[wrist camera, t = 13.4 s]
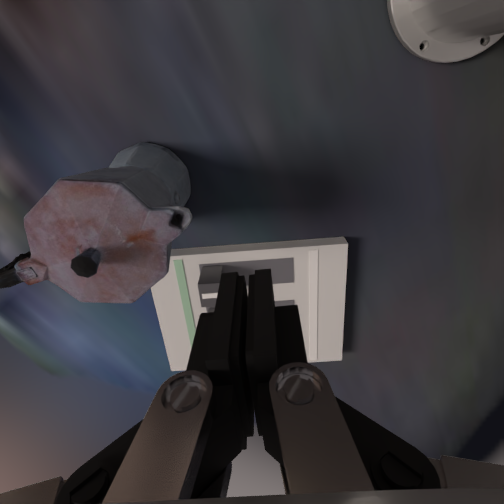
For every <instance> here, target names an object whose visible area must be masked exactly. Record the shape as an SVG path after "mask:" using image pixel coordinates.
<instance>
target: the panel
mask: <svg viewBox="0 0 504 504" xmlns="http://www.w3.org/2000/svg"><path fill="white" fill-rule="evenodd" d="M347 255H348V243H347V241H346V239H345V238H344V237H332V238H318V239H305V240H291V241H277V242H264V243H250V244H236V245H223V246H209V247H195V248H182V249H171V254H170V264H169V272H168V273H167V274H166V276H165V277H164V278H162V279H161V280H160V281H158V282H157V283H156V284H155V285H154V286H152V287H151V291H152V295H153V299H154V303H155V307H156V311H157V315H158V319H159V323H160V327H161V331H162V335H163V339H164V343H165V347H166V351H167V355H168V359H169V363H170V367H171V371H180V370H186V368H187V364H188V360H189V356H190V352H191V348H192V344H193V340H194V336H195V332H196V328H197V324H198V320H199V316H200V314H201V313H208V309H209V308H215V307H201V302H200V296H199V290H198V281H199V277H200V273H201V269H202V267H205V266H219V265H222V266H223V273H229V272H238V274H239V276H242V275H244V276H245V281H246V287H247V294H248V285H249V275H252V274H255V270H260V269H271V274H272V283H273V292H274V301H275V306H287V305H298V310H299V315H300V321H301V327H302V333H303V339H304V344H305V350H306V356H307V362H323V361H339V360H342V347H343V329H344V310H345V292H346V274H347Z"/></svg>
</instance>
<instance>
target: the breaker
mask: <svg viewBox="0 0 504 504" xmlns="http://www.w3.org/2000/svg"><path fill="white" fill-rule="evenodd" d="M222 273H223V266H222V265H219V266H205V267H202V269H201V273H200V277H199V281H198V290H199V296H200V302H201V307H215V305H216V299H217V294H218V289H219V284H220V278H221V274H222Z"/></svg>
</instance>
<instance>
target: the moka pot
mask: <svg viewBox="0 0 504 504" xmlns="http://www.w3.org/2000/svg"><path fill="white" fill-rule="evenodd" d="M190 195H191V184H190V177H189V173H188V169H187V167H186V166H185V165H184V163H183V162H182V161H181V160H180V159H179V158H178V157H177V156H176V155H175V154H174V153H173V152H172V151H171V150H170V149H168V148H166V147H163V146H160V145H156V144H152V143H147V142H141V143H138V144H135V145H133V146H131V147H129V148H126V149H124V150H122V151H120V152H119V153H118V154H117V155H116V157H115V158H114V160H113V161H112V163H111V164H110V166H109V168H103V169H99V170H94V171H90V172H86V173H82V174H78V175H73V176H68V177H64V178H60V179H58V180H57V181H56V182H55V184H54V185H53V186H52V187H51V188H50V189H49V190H48V192H47V193H46V194H45V195H44V196H43V197H42V198H41V200H40V201H39V202H38V203H37V204H36V205H35V206H34V207H33V208H32V209H31V210H30V211H29V212H28V213H27V214H26V216H25V217H24V227H25V230H26V234H27V239H28V243H29V246H30V252H27V253H26V254H20V255H19V256H18V257H16V258H15V259H14V260H13V261H12V262H11V263H9V264H8V265H6V266H5V267H3V268H1V269H0V288H5V287H11V286H14V285H16V284H19V283H21V282H25V283H26V284H28V285H32V284H35V283H38V282H41V281H44V280H49V281H51V282H53V283H54V284H56V285H57V286H59V287H60V288H62V289H63V290H64V291H66V292H67V293H69V294H70V295H72V296H73V297H74V298H76V299H77V300H79V301H80V302H101V303H133V302H135V301H136V300H137V299H139V298H140V297H141V296H142V295H143V294H144V293H145V292H146V291H148V290H149V289H150V288H151V287H152V286H154V285H155V284H156V283H157V282H158V281H160V280H161V279H162V278H164V277H165V276H166V274H167V273H168V272H169V264H170V254H171V243H172V241H173V240H174V239H175V238H177V237H178V236H179V235H180V234H181V233H182V232H183V231H184V230H185V229H186V228H187V227H188V226H189V224H190V223H191V221H192V214H191V212H190V210H189V209H188V208H186V207H184V206H185V204H186V202H187V201H188V199H189V197H190Z"/></svg>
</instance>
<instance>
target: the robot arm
mask: <svg viewBox="0 0 504 504" xmlns="http://www.w3.org/2000/svg"><path fill="white" fill-rule="evenodd" d="M387 8H388V13H389V18H390V23H391V25H392V28H393V30H394V32H395V35H396V36H397V38H398V39H399V41H400V42H401V44H402V45H403V46H404V47H405V48H406V49H407V50H408V51H409V52H410V53H411V54H413V55H415V56H417V57H418V58H420V59H422V60H426V61H429V62H433V63H450V62H458V61H461V60H464V59H468V58H471V57H473V56H475V55H477V54H479V53H481V52H483V51H485V50H486V49H487V48H489V47H490V46H492V45H493V44H494V43H496V42H497V41H498V40H499V39H500V38H501V37H502V36H503V35H504V0H387ZM480 40H481V43H480ZM420 44H422V49H421V50H420V47H419V46H420ZM254 411H255V417H256V423H257V428H258V434H259V436H263V440H264V446H265V450H266V451H267V452H268V453H269V454H270V455H271V456H272V457H274V459H276V460H277V461H278V462H279V463H280V469H281V474H282V479H283V484H284V489H285V494H286V495H268V496H247V497H226V496H227V491H228V486H229V481H230V477H231V471H232V462H231V461H232V460H233V459H234V458H235V457H236V456H237V455H238V454H239V453H240V452H241V450H243V449H244V450H245V449H246V448H247V437H250V436H253V434H254ZM0 504H504V465H498V464H492V463H486V462H480V461H474V460H468V459H462V458H456V457H450V456H444V455H441V457H440V460H439V459H433V458H427V457H426V456H425V455H424V454H423V453H421V452H420V451H419V450H418V449H417V448H415V447H414V446H412V445H410V444H409V443H407V442H406V441H404V440H403V439H401V438H399V437H398V436H396V435H395V434H393V433H392V432H390V431H388V430H387V429H385V428H384V427H382V426H381V425H379V424H377V423H376V422H374V421H373V420H371V419H370V418H368V417H366V416H365V415H363V414H362V413H360V412H359V411H357V410H356V409H354V408H352V407H351V406H349V405H348V404H346V403H345V402H343V401H341V400H340V399H338V398H337V397H335V396H334V393H333V391H332V389H331V386H330V384H329V382H328V379H327V378H326V376H325V375H324V373H323V372H322V371H321V370H320V369H318V368H317V367H315V366H313V365H311V364H308V362H307V356H306V350H305V344H304V339H303V333H302V327H301V321H300V315H299V310H298V305H287V306H275V301H274V292H273V283H272V274H271V269H260V270H255V274H252V275H249V285H248V294H247V287H246V281H245V276H244V275H242V276H239V274H238V272H229V273H222V274H221V278H220V284H219V289H218V294H217V299H216V305H215V310H214V312H208V313H201V314H200V316H199V320H198V324H197V328H196V332H195V336H194V340H193V344H192V348H191V352H190V356H189V360H188V364H187V368H186V371H183V372H180V373H177V374H175V375H173V376H172V377H170V378H168V379H167V380H166V381H165V382H164V383H163V384H162V385H161V387H160V388H159V389H158V391H157V393H156V395H155V397H154V399H153V401H152V403H151V405H150V407H149V409H148V411H147V413H146V415H145V417H144V419H143V420H142V421H140V422H139V423H138V424H136V425H135V426H134V427H132V428H131V429H130V430H128V431H127V432H126V433H124V434H123V435H122V436H120V437H119V438H118V439H116V440H115V441H114V442H112V443H111V444H110V445H108V446H107V447H106V448H105V449H103V450H102V451H101V452H99V453H98V454H97V455H95V456H94V457H93V458H91V459H90V460H89V461H87V462H86V463H85V464H84V465H82V466H81V467H80V468H79V469H77V470H76V471H75V472H74V473H73V474H72V475H71V476H70V477H69V478H68V479H66V480H63V478H62V477H61V476H59V477H56V478H53V479H49V480H46V481H42V482H39V483H36V484H32V485H28V486H25V487H22V488H18V489H15V490H11V491H8V492H4V493H1V494H0Z"/></svg>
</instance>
